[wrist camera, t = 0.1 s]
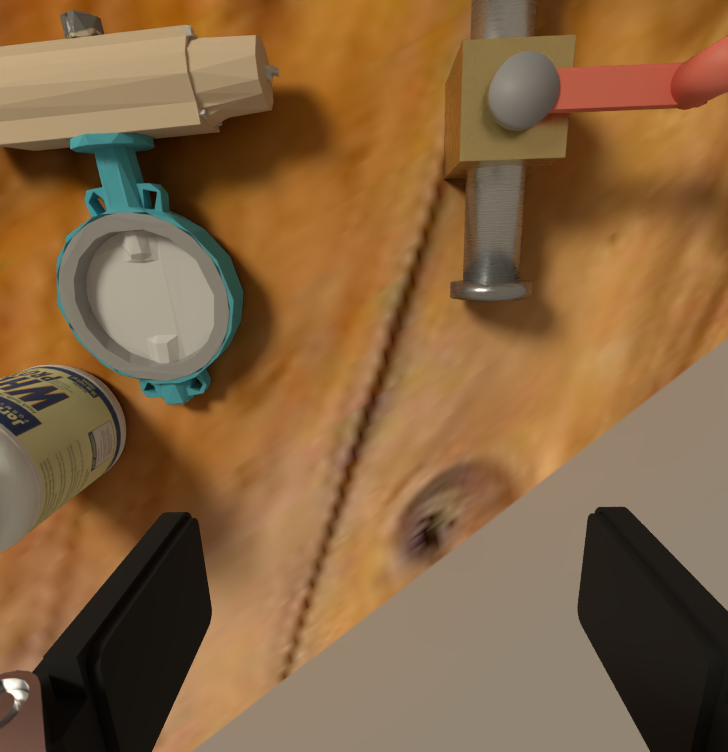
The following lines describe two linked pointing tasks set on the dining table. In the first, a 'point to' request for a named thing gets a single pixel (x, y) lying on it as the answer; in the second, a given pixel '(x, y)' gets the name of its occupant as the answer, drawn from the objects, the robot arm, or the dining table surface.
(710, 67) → the lever
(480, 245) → the valve body
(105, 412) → the supplement tub
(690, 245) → the dining table surface
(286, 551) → the dining table surface
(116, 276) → the butterfly valve
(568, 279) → the dining table surface
